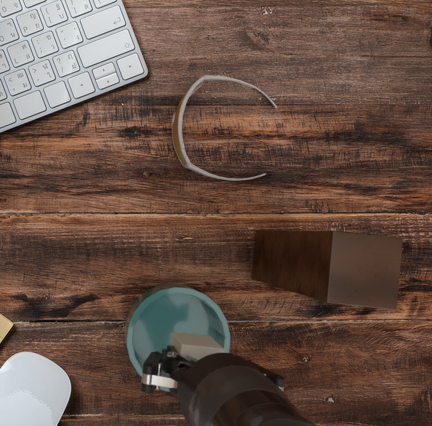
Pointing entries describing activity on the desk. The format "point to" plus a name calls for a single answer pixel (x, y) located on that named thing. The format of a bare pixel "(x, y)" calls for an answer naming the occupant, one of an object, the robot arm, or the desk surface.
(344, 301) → the block
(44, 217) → the desk surface
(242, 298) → the desk surface
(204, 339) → the block
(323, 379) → the desk surface
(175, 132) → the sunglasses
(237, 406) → the robot arm
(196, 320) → the bowl
